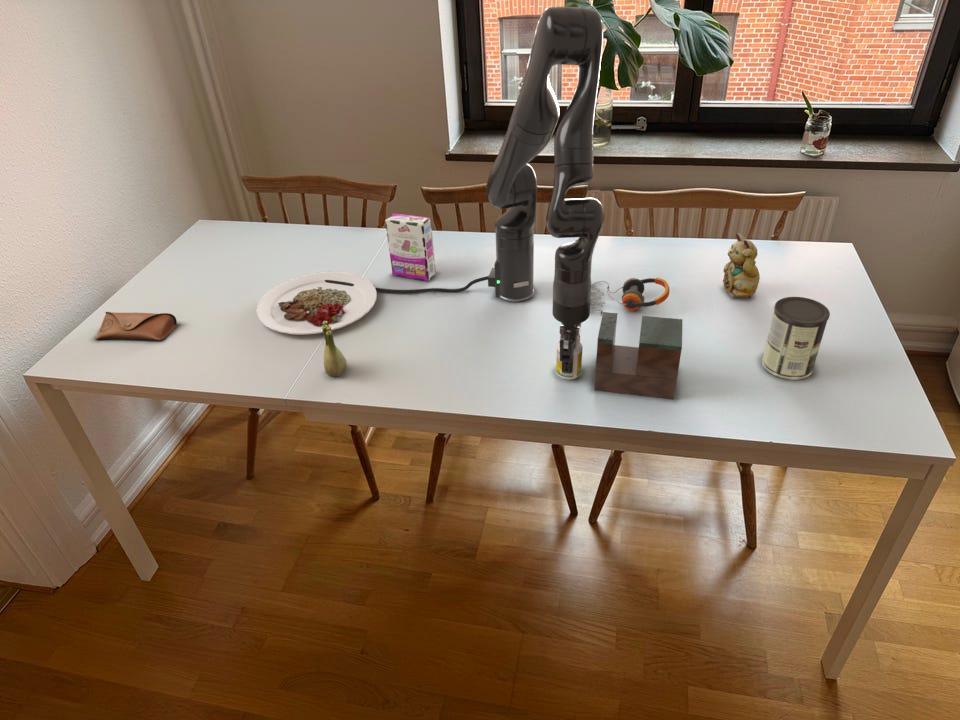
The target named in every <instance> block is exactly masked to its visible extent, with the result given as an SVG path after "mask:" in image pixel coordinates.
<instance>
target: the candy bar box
mask: <svg viewBox="0 0 960 720" xmlns="http://www.w3.org/2000/svg"><path fill="white" fill-rule="evenodd" d="M384 222H385V231H386V236H387V243H388V245H387V246H388V252H389V258H390V259H389V260H390V265H391V273H392V274H391V275H392V276H393V277H399V278H405V279H411V280H417V281H424V282H430V280H432V278H433V277H435V275H436V273H437V271H436V263H435V262H436V261H435V250H434V241H433V240H434V239H433V230H432V220H431V217H426V216H419V215H410V214H403V213H402V214H401V213H392V214H391V215H390V216H388V217H386V219H384Z"/></svg>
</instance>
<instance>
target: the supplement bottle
mask: <svg viewBox="0 0 960 720" xmlns="http://www.w3.org/2000/svg"><path fill="white" fill-rule="evenodd" d="M563 339H564V338H563ZM573 344H574V341H573ZM582 363H583V344H582V342H581V334H580V335H578V340H577V347H576V349H574V358H573V371H572V373H563V372H562V361H560V343H559V342H558V343H557V345H556V366H555V370H556V371H555V374H556V375H557V376H558V377H559V378H560V379H563V380H568V381H569V380H575V379H577V378H579V377H580V375H581V373H582Z"/></svg>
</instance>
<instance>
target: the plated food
mask: <svg viewBox="0 0 960 720" xmlns="http://www.w3.org/2000/svg"><path fill="white" fill-rule="evenodd" d="M325 280H333V281H341V282H347V283H352V284H354V286H347V285H341V284H333V283H327V282H325ZM375 288H376V286H374V284H373V283H372V282H371V281H370V280H368V279H367V278H365V277H363V276H361V275H358V274H354V273H351V272H345V271H319V272H313V273H306V274H303V275H299V276H296V277H293V278H290V279H287V280H284V281H283V282H281V283H279V284H277V285H275V286H273V287H272V288H271V289H269V290H268V291H267V292H266V293H265V294H264V295H263V296H262V297H261V299H260V300H259V301H258V303H257V306H256V315H257V319H258V321H259V322H261V324H262V325H263V326H265V327H267V328H268V329H270V330H272V331H274V332H278V333H281V334H288V335H299V336H300V335H302V336H303V335H317V334H322V333H323V330H322V327H323V324H322V323H323V321H328V325H329V326H330V327H331V332H333V331H335V330H338V329H342V328H344V327H347V326H349V325H352V324H353V323H355V322H357V321H358V320H361V319H362V318H363V317H364V316H366V315H367V314H368V313H369V312H371V310H372V309H373V307H374V306H375V304H376V302H377V297H378V296H377V295H378V293H377V292H378V291H376V289H375ZM323 334H324V333H323Z"/></svg>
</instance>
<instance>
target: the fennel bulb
mask: <svg viewBox="0 0 960 720" xmlns="http://www.w3.org/2000/svg"><path fill="white" fill-rule="evenodd" d="M322 324H323V327H322V330H323V337H324V341H325V344H324V350H323V367H324V372H325V374H327V375H328V376H329V377H339V376H341V375H342V374H344V373H345V371H346V370H347V369H348V362H347V359H346V358H345V355H344V353H343V352H342V351H341V350H340V349H339V348H338V347H337V346H336V344H335V340H334V335H333V331H331V327H330V326H329V325H328V321H323V323H322Z"/></svg>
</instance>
